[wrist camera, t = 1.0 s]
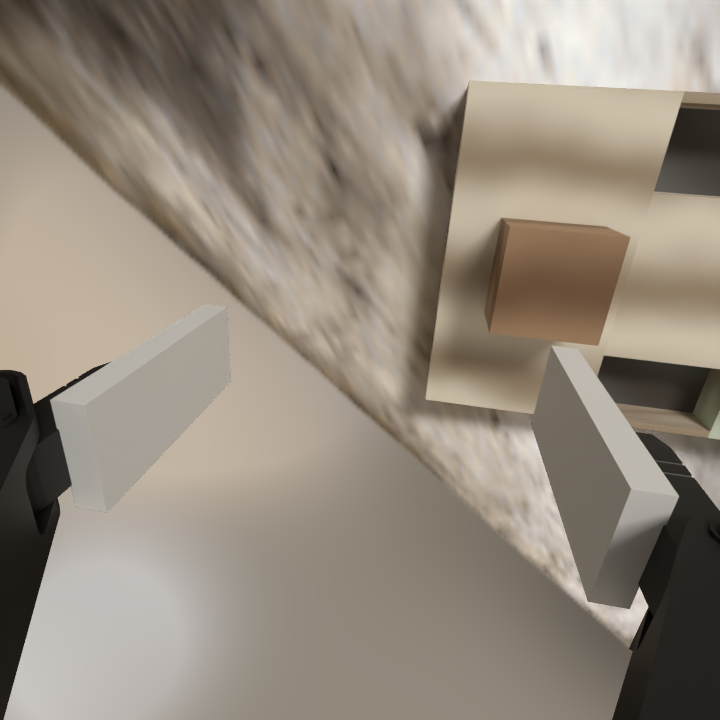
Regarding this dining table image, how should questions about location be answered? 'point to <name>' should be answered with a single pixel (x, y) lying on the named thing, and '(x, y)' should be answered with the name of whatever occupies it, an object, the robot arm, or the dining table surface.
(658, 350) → the trap board
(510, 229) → the walnut block
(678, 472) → the robot arm
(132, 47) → the dining table surface
